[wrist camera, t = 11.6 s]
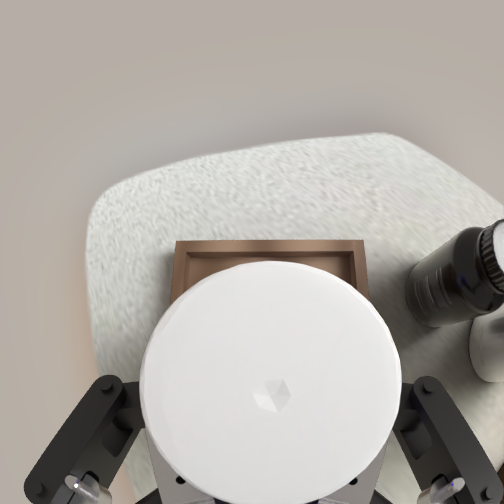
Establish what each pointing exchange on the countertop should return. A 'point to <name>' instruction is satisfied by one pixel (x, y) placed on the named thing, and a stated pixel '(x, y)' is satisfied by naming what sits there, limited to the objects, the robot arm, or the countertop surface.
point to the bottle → (270, 384)
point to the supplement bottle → (459, 278)
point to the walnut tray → (268, 259)
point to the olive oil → (503, 477)
